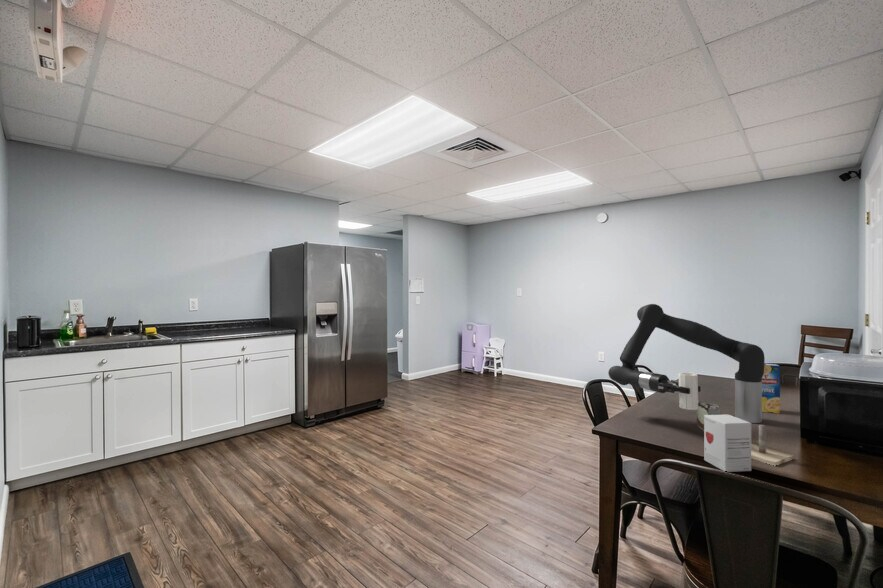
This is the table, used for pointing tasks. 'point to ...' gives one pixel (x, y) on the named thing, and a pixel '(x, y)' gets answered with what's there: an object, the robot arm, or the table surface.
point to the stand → (767, 451)
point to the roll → (690, 399)
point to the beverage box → (771, 388)
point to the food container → (705, 412)
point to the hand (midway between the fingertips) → (694, 390)
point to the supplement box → (727, 442)
